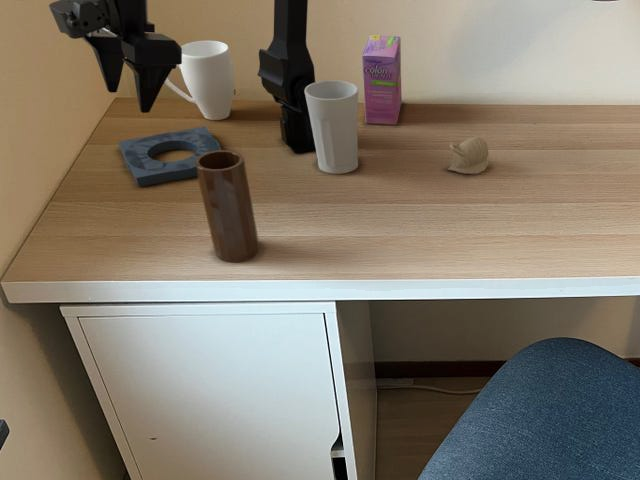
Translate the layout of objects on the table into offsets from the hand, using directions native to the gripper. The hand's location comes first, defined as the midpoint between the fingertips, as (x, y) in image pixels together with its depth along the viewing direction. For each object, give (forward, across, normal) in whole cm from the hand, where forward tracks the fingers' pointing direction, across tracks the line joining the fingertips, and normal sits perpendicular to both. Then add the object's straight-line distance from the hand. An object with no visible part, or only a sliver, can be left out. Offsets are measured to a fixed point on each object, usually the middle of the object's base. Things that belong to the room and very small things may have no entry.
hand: (128, 102), depth 106 cm
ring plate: (+12, -9, +11) cm, 18 cm away
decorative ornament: (+4, +25, +44) cm, 50 cm away
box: (+4, -1, +48) cm, 48 cm away
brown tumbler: (+14, +21, +4) cm, 26 cm away
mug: (+9, -21, +24) cm, 33 cm away
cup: (+8, +10, +29) cm, 32 cm away
